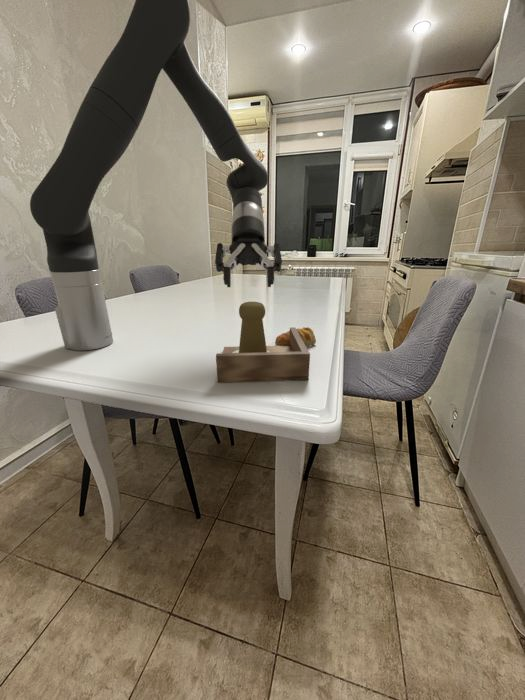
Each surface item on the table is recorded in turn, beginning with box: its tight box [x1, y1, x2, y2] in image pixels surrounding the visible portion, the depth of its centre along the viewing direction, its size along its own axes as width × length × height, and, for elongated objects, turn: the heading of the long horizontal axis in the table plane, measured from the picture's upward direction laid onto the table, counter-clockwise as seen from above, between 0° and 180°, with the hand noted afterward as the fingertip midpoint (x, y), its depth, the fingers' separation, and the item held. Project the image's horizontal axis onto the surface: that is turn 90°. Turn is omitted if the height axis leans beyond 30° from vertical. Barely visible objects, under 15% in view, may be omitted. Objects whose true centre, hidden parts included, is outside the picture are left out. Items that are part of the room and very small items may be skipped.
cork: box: [238, 301, 267, 353], centre depth 58 cm, size 6×6×11 cm
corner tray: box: [215, 327, 311, 384], centre depth 57 cm, size 16×16×5 cm
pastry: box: [274, 326, 317, 347], centre depth 69 cm, size 9×7×4 cm
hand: (249, 284), depth 61 cm, fingers open, 8 cm apart
